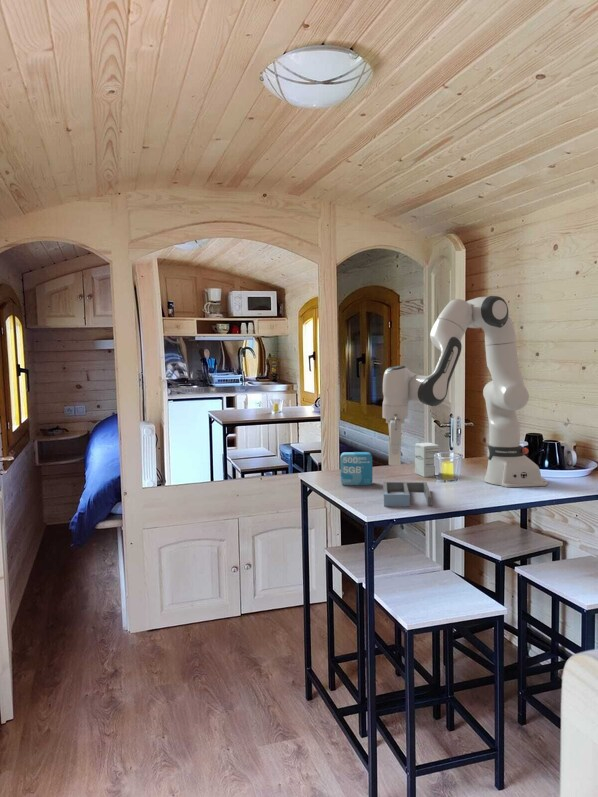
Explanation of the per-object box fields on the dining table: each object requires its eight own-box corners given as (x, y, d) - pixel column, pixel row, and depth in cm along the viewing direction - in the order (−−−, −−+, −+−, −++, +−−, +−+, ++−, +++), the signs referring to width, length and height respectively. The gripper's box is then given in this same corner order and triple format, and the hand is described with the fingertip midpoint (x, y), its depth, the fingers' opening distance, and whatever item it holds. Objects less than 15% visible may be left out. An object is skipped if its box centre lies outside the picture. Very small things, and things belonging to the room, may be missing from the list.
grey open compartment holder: (426, 490, 221) (426, 479, 220) (432, 507, 199) (432, 495, 198) (383, 489, 223) (383, 479, 222) (384, 506, 201) (384, 494, 200)
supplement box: (414, 473, 248) (414, 443, 247) (430, 472, 251) (430, 442, 249) (423, 477, 241) (423, 446, 240) (439, 475, 244) (439, 444, 242)
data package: (341, 485, 231) (340, 454, 230) (340, 482, 235) (340, 452, 234) (372, 485, 230) (372, 454, 229) (371, 482, 235) (371, 451, 234)
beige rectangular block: (400, 463, 212) (400, 434, 211) (400, 465, 208) (400, 436, 207) (388, 462, 212) (388, 434, 211) (388, 465, 208) (389, 436, 207)
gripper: (405, 416, 198) (405, 458, 199) (403, 409, 218) (403, 447, 219) (386, 416, 198) (386, 458, 200) (385, 409, 219) (385, 447, 220)
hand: (394, 452), depth 210 cm, fingers closed on beige rectangular block, 4 cm apart
